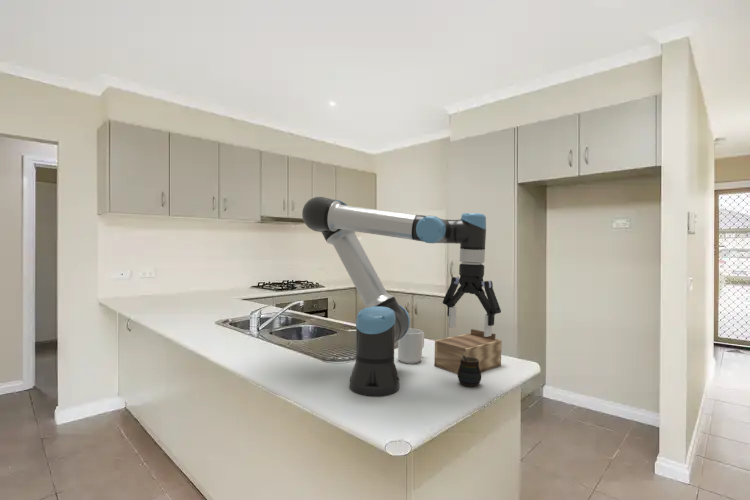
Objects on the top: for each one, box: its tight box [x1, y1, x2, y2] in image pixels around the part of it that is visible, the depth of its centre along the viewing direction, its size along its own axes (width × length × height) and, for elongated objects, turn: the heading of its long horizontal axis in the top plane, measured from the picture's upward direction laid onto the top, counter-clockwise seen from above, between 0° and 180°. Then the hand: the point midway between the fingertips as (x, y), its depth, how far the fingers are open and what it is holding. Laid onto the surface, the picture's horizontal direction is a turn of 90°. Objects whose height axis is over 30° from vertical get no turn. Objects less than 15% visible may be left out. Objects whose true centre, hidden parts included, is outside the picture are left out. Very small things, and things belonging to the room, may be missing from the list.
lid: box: [437, 328, 499, 352], centre depth 142 cm, size 20×12×3 cm, turn 129°
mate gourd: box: [457, 355, 482, 388], centre depth 123 cm, size 7×8×10 cm
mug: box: [397, 327, 426, 365], centre depth 148 cm, size 12×9×11 cm
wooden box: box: [433, 332, 503, 375], centre depth 142 cm, size 20×14×9 cm
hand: (469, 331), depth 123 cm, fingers open, 13 cm apart
